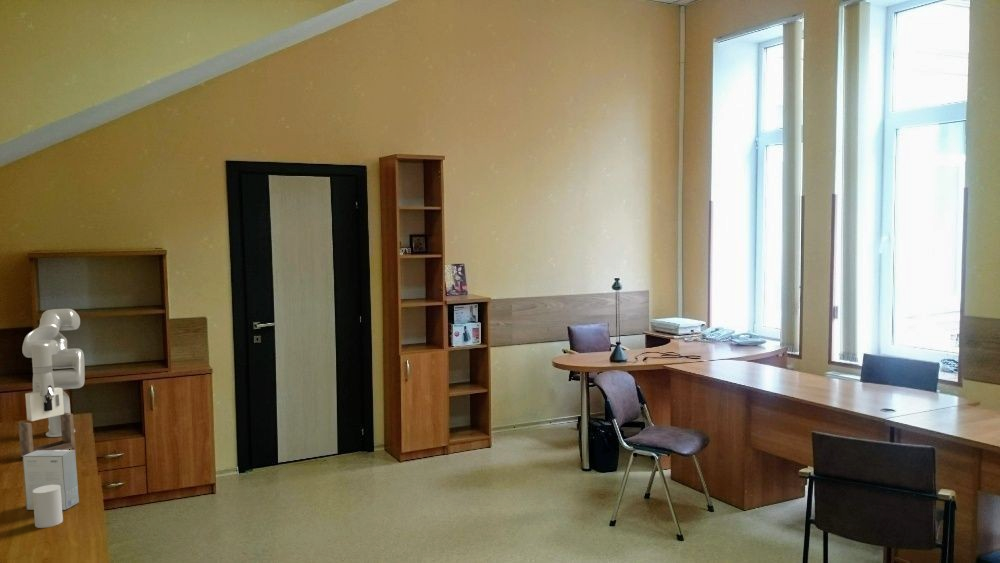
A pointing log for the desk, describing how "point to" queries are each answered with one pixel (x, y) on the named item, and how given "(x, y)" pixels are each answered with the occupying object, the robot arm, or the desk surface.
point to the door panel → (37, 405)
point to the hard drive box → (51, 474)
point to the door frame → (65, 444)
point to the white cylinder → (47, 506)
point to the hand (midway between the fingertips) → (45, 409)
